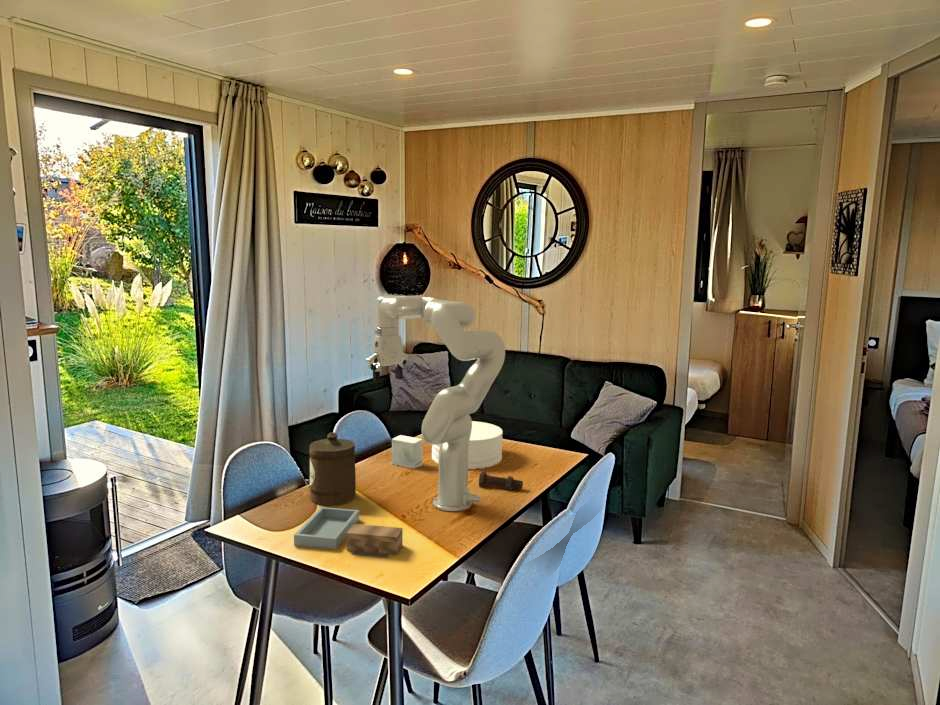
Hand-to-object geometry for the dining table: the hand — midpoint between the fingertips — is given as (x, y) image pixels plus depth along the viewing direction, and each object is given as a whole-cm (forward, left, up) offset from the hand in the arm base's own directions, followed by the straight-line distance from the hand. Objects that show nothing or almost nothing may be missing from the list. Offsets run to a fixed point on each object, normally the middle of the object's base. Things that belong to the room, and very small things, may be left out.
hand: (387, 380), depth 227 cm
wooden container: (+13, +19, -37) cm, 43 cm away
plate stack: (-24, -32, -37) cm, 54 cm away
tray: (+4, +47, -37) cm, 59 cm away
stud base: (-12, +54, -37) cm, 66 cm away
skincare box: (-3, -18, -37) cm, 41 cm away
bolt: (-41, -2, -37) cm, 55 cm away
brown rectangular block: (-12, +54, -36) cm, 65 cm away
